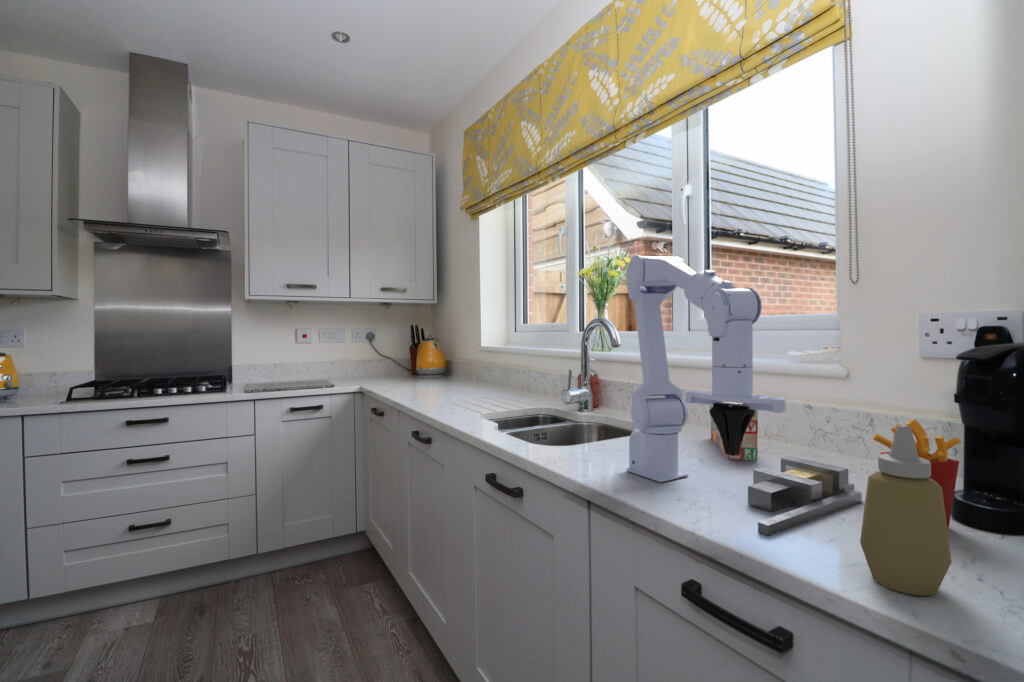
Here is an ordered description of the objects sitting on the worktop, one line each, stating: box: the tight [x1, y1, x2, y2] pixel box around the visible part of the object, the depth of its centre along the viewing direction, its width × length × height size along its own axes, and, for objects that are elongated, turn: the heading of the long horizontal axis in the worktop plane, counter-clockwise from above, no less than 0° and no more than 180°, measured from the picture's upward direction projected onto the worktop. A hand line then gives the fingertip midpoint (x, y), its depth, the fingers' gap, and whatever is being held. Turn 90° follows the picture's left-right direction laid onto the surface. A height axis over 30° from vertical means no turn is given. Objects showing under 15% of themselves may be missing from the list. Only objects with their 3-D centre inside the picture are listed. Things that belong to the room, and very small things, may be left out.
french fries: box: [872, 418, 962, 528], centre depth 73 cm, size 9×8×15 cm
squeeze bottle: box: [859, 425, 952, 597], centre depth 55 cm, size 8×8×18 cm
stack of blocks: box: [709, 401, 759, 461], centre depth 117 cm, size 21×6×12 cm, turn 168°
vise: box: [757, 455, 863, 537], centre depth 80 cm, size 12×28×5 cm, turn 120°
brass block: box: [784, 469, 820, 481], centre depth 84 cm, size 4×5×4 cm
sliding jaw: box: [747, 467, 823, 512], centre depth 81 cm, size 10×9×4 cm
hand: (732, 453), depth 75 cm, fingers closed
